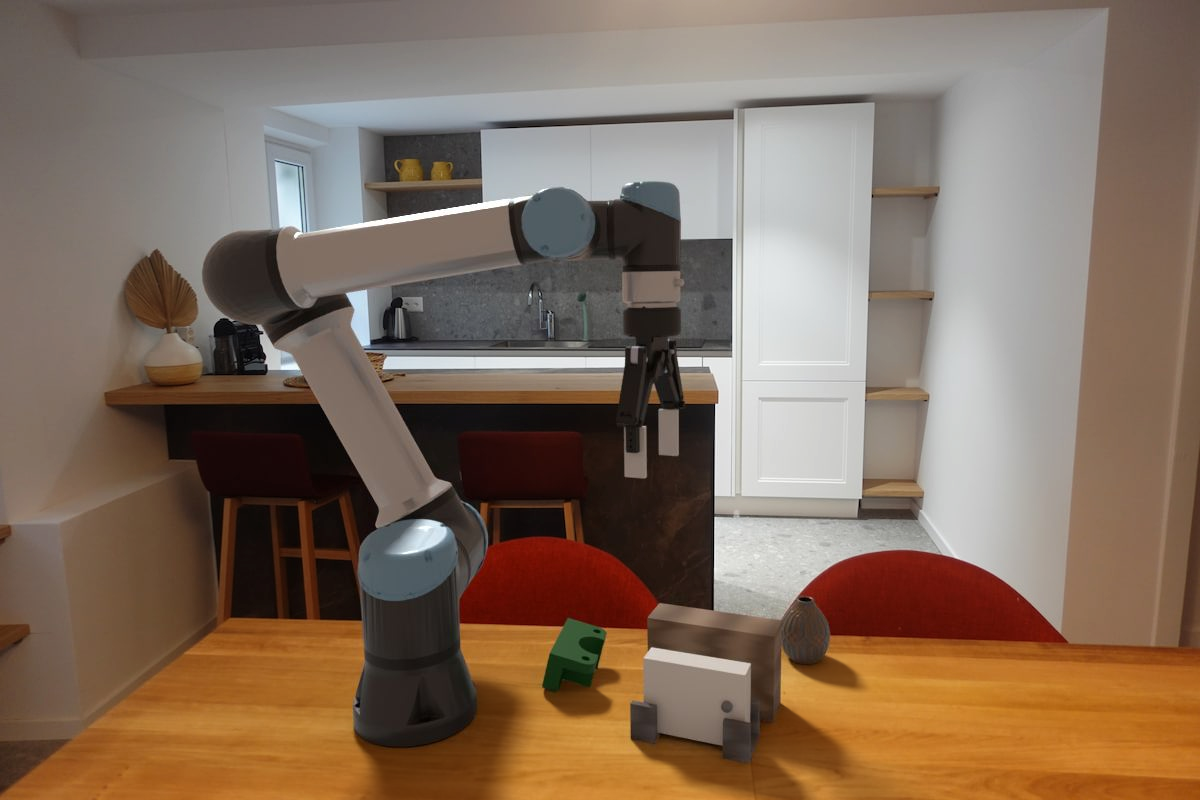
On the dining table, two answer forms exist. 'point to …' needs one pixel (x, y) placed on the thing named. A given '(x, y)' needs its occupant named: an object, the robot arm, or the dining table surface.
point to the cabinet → (725, 641)
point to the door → (696, 693)
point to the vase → (805, 632)
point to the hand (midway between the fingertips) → (653, 465)
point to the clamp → (574, 655)
